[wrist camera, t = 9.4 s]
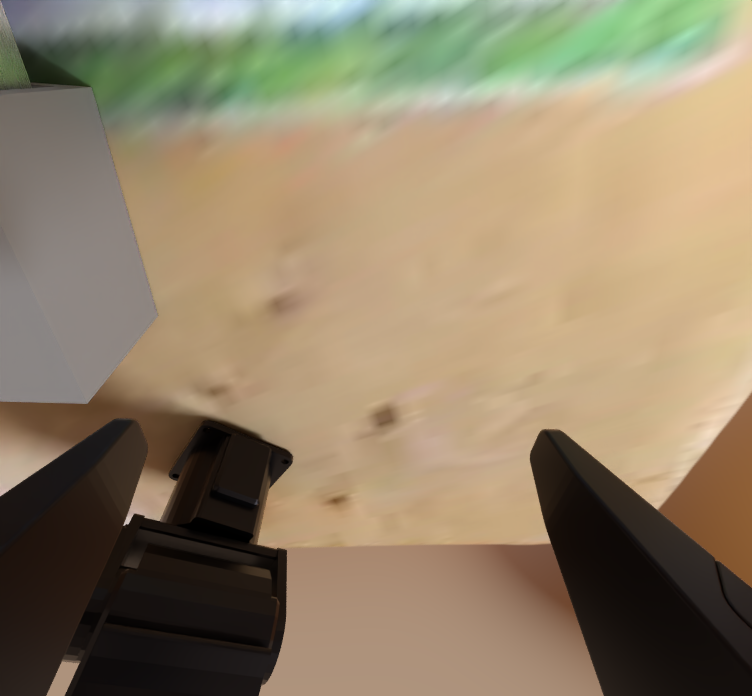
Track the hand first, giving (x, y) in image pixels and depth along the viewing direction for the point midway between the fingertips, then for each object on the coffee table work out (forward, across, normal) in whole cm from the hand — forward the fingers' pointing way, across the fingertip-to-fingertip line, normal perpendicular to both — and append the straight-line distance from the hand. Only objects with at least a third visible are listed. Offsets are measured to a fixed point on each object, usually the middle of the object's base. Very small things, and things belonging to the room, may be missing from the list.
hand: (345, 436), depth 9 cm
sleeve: (+12, +13, 0) cm, 18 cm away
